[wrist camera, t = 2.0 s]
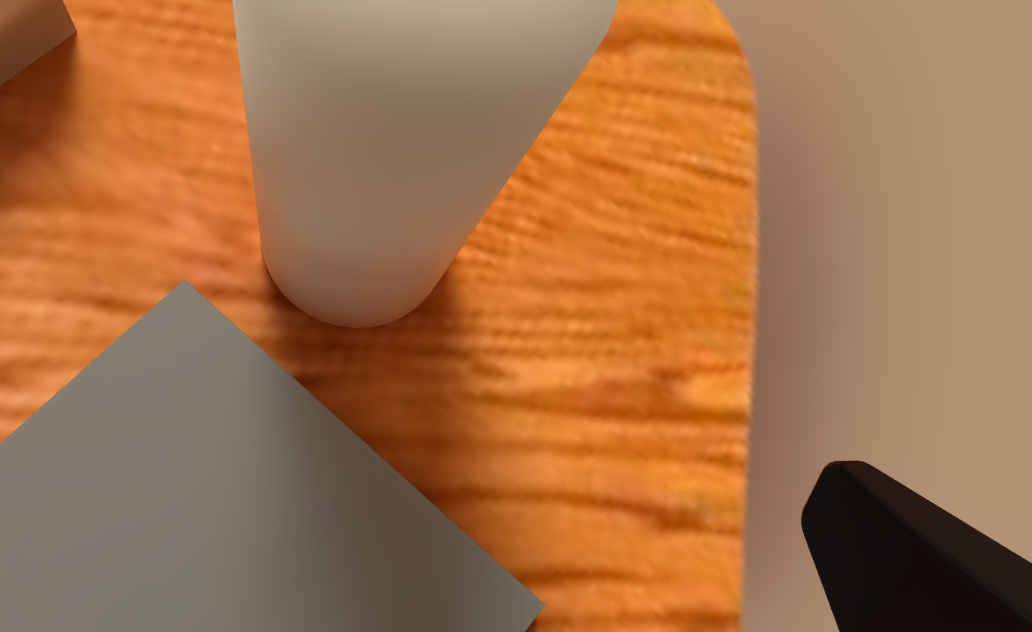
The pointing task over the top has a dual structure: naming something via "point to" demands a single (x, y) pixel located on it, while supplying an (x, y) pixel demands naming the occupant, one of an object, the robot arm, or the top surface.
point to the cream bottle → (394, 133)
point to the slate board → (223, 504)
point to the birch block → (30, 32)
